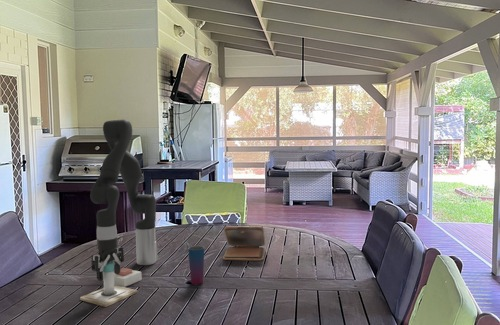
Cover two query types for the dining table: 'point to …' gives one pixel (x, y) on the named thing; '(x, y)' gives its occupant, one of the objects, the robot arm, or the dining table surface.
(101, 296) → the paper board
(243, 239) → the case
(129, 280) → the button housing
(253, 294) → the dining table surface
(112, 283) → the marker
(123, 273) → the button
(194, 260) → the cup
